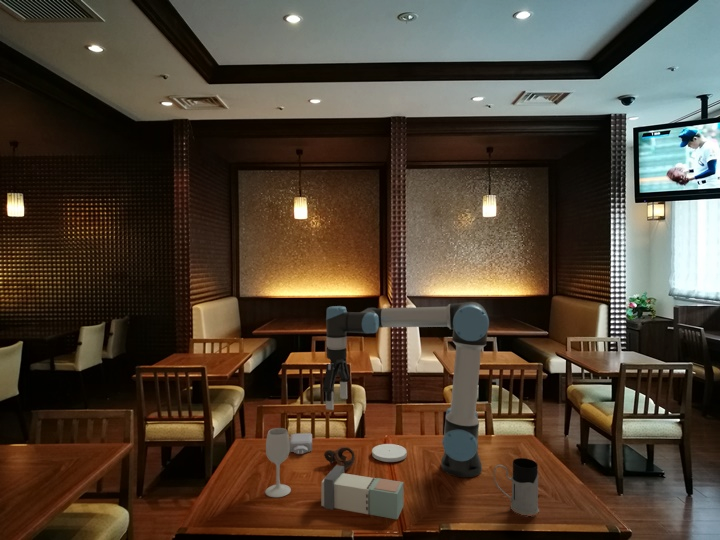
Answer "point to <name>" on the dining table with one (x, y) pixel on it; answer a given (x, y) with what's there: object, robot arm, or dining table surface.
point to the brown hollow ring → (340, 457)
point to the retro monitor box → (386, 498)
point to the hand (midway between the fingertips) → (336, 403)
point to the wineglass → (277, 458)
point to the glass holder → (523, 486)
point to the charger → (301, 443)
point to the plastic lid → (389, 452)
